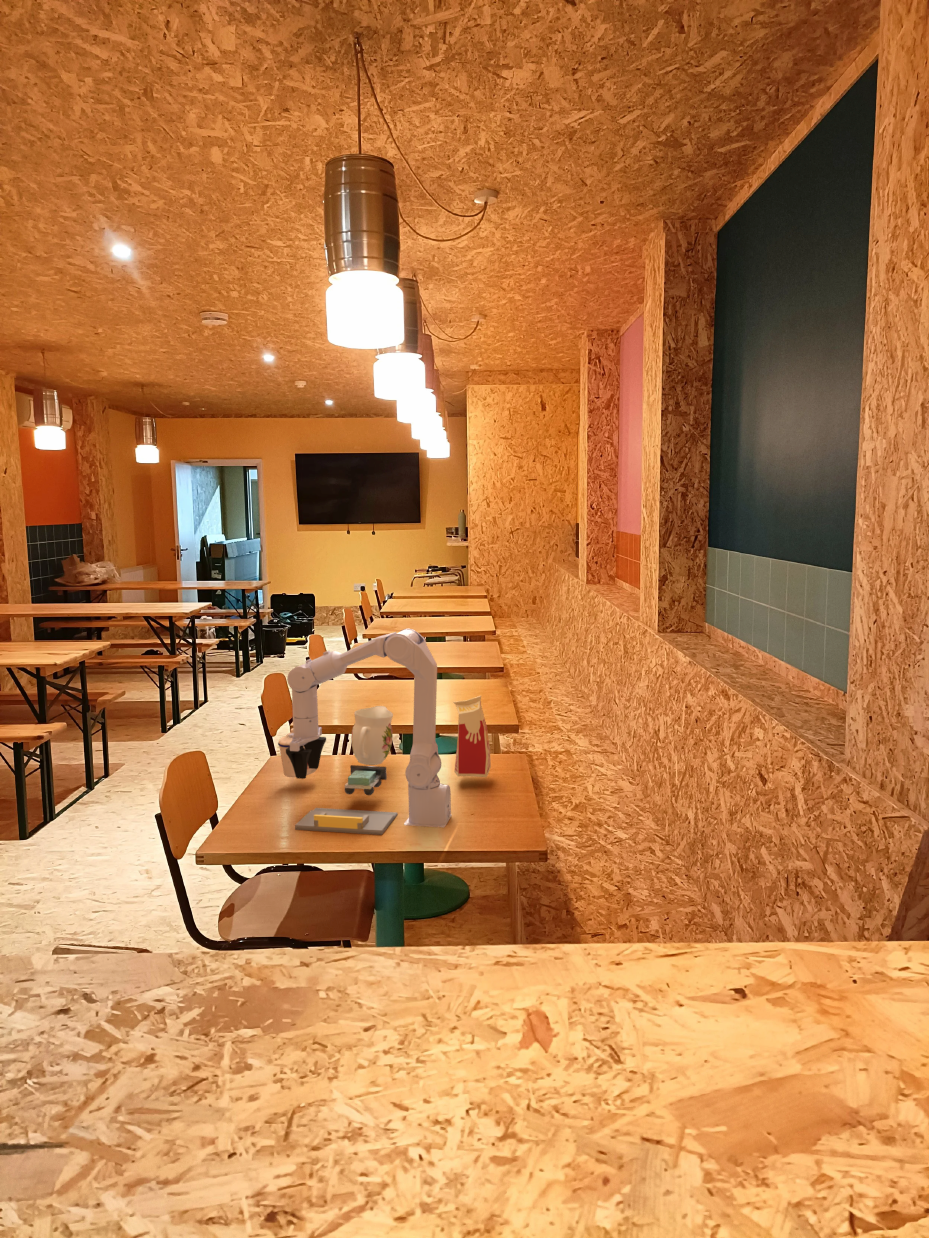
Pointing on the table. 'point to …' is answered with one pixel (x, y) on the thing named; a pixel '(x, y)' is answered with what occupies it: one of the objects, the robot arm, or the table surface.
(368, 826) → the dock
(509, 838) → the table surface
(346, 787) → the toy cart
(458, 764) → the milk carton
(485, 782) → the table surface
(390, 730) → the pitcher
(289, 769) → the teacup with lid
